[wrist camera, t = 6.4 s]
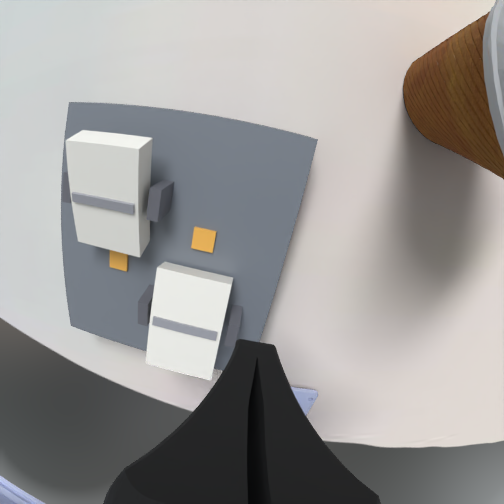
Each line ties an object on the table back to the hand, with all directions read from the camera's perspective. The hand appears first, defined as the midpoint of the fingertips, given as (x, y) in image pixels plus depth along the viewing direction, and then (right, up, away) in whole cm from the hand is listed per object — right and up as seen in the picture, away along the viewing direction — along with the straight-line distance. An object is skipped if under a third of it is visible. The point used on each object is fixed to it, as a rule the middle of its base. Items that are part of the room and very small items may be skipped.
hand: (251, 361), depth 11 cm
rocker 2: (-4, 0, +6) cm, 7 cm away
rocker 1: (-7, +7, +3) cm, 10 cm away
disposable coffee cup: (+12, +14, +4) cm, 19 cm away
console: (-5, +5, +9) cm, 12 cm away
